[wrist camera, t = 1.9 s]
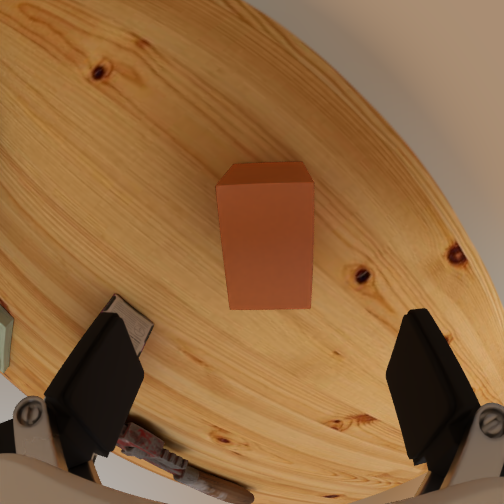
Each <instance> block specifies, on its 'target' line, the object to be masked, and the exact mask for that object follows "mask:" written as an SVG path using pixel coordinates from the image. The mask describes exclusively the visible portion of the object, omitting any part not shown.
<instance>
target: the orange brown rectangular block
mask: <svg viewBox="0 0 504 504" xmlns="http://www.w3.org/2000/svg"><path fill="white" fill-rule="evenodd" d="M215 188H216V198H217V207H218V216H219V225H220V234H221V243H222V251H223V260H224V268H225V276H226V284H227V292H228V299H229V307H230V310H274V309H310V308H311V295H312V275H313V247H314V181H313V179H312V178H311V176H310V174H309V172H308V171H307V169H306V167H305V165H304V164H303V162H266V163H245V164H233V165H232V166H231V167H230V169H229V170H228V171H227V172H226V173H225V175H224V176H223V177H222V178H221V180H220V181H219V182H218V183H217V185H216V186H215Z"/></svg>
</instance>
